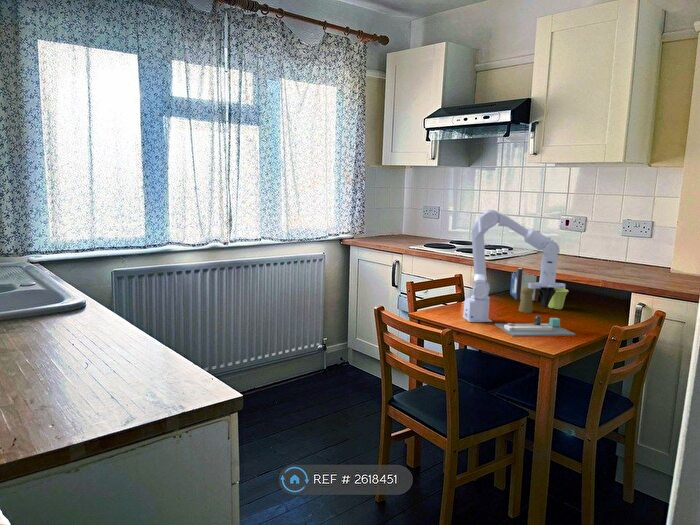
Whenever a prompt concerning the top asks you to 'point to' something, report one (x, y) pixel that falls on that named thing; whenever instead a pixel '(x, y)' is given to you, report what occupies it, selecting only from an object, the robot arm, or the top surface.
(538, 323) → the black knobbed slide plate
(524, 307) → the olive tapered shaker
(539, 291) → the robot arm
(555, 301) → the plant pot
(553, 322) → the teal block
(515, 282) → the protein box
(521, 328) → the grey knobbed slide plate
